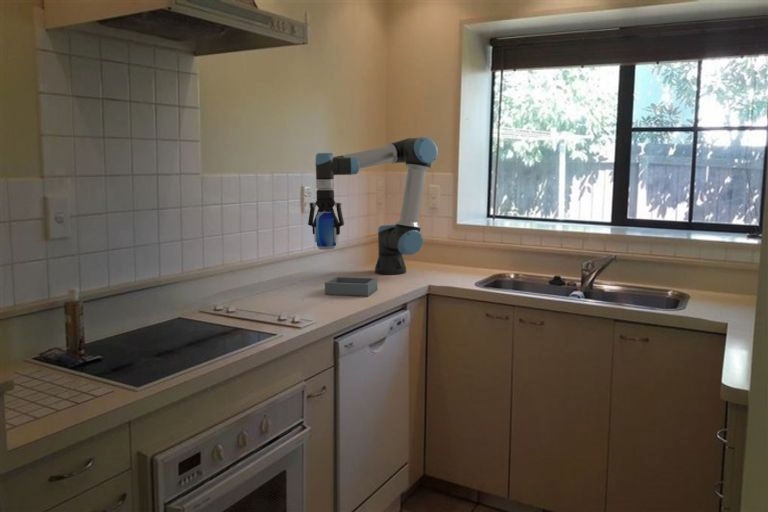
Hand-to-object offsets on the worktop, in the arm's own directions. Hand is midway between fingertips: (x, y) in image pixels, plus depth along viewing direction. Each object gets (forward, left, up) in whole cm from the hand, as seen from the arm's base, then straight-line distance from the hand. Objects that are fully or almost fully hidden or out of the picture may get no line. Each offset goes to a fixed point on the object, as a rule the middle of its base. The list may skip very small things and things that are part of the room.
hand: (326, 241), depth 285 cm
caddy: (+12, +15, -19) cm, 27 cm away
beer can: (0, 0, -3) cm, 3 cm away
